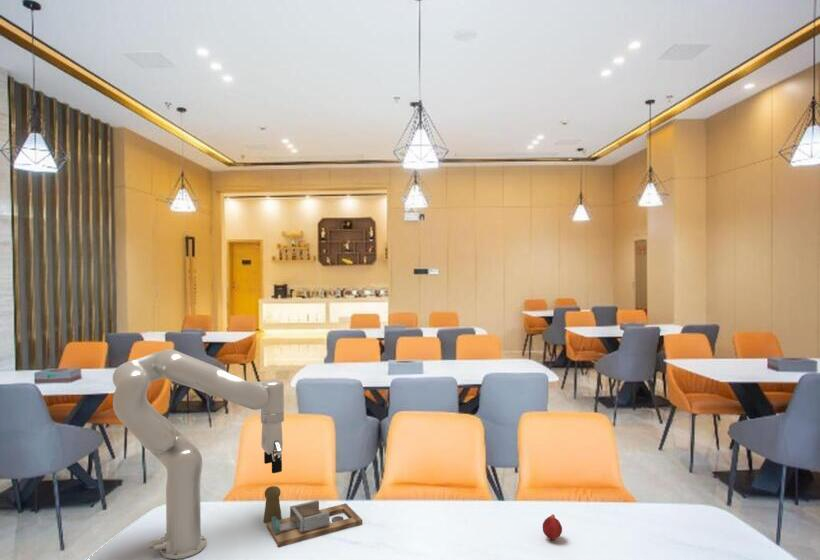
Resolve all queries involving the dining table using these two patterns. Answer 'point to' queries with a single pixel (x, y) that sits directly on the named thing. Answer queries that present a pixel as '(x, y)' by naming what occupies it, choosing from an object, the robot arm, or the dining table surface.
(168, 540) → the robot arm
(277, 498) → the olive tapered rounded piece
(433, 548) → the dining table surface
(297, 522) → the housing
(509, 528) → the dining table surface
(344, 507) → the board
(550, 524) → the onion
